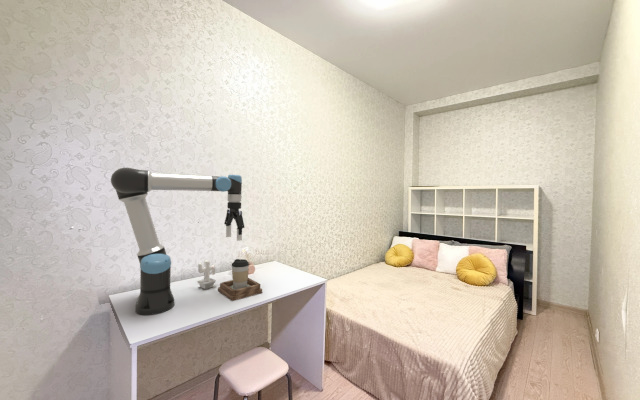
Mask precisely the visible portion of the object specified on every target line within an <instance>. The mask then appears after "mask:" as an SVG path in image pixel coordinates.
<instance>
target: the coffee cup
mask: <svg viewBox="0 0 640 400" xmlns="http://www.w3.org/2000/svg"><path fill="white" fill-rule="evenodd" d="M249 266H250V263H249V261H248V260H247V259H243V258H242V259H241V258H235V259H234V261H233V262H231V268H232V269H231V272H232V273H231V274H232V275H231V277H232V280H233V289H234V290H237V289H241V288H245V287H247V280H248V278H249V270H250V268H249Z"/></svg>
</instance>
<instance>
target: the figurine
mask: <svg viewBox="0 0 640 400" xmlns="http://www.w3.org/2000/svg"><path fill="white" fill-rule="evenodd" d="M210 263H211V261H210V260H209V259H205V260H204V261H203V263H202V262H199V263H198V265H197V267H198V268H197V269H198V270H197V271H198V273H199V274H202V273H203V279H200V280H199V279H198V280H196V282H197V283H198V285H199V286H200V288H202V289H203V290H206V289H210V288H213V287H214V285H215V283H216V282H217V279H213V278H211V277H210V272H211V275H212V276H213V275H215V274H216V267H215V265H213V264H212V265H210Z"/></svg>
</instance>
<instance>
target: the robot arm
mask: <svg viewBox="0 0 640 400" xmlns="http://www.w3.org/2000/svg"><path fill="white" fill-rule="evenodd" d="M242 180H243V179H242V175H239V174H228V175H227V176H222V175H221V176H216V175H215V176H214V175H212V176H211V175H197V174H196V175H195V174H180V173H179V174H177V173H176V174H175V173H159V172H151V171H150V170H145V169H137V168H132V167H121V168H118V169H116V170H115V171H114V172H113V173H112V175H111V176H110V184H111V186H112V187H113V189H114V190H115V192H116V195H117V198H118V201H120V202H123V204H124V206H125V210H126V213H127V216H128V219H129V221H130V225H131V228H132V231H133V234H134V237H135V240H136V244H137V247H138V252H137V253H136V256H137V259H138V261H139V269H140V275H139V276H140V278H139V279H140V282H139V283H140V284H139V285H140V286H139V287H140V290H139V291H140V292H139V295H138V298H137V301H136V304H135V305H134V306H135V307H134V308H135V309H134V310H135V313H136V314H138V315H142V316H149V315H151V316H152V315H157V314H161V313H165V312H166V311H169V310H171V309H173V308H174V306H175V297H174V295H173V292H172V289H171V272H172V271H171V270H172V269H171V268H172V266H171V265H172V261H171V257H170V255H168V254H167V251H166V249H165V246H164V245H163V244H160V241H159V238H158V234H157V232H156V228H155V224H154V222H153V218H152V215H151V212H150V209H149V205H148V203H147V199H146V198H147V196H148V193H150V192H151V191H187V192H189V191H191V192H192V191H197V192H221V193H223V192H227V210H226V215H225V218H224V219H225V220H224V223H223V224H224V225H225V226H226V228H225V234H226V235H225V238H230V237H232V223H233V220H234V222H235V224H236V241H237V242H238V241H239V242H240V241H242V240H243V229H245V223H244V218H243V210H240V209H242V198H243V197H242V196H243V195H242V187H243V186H242V185H243V181H242Z"/></svg>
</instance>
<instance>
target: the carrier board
mask: <svg viewBox="0 0 640 400" xmlns="http://www.w3.org/2000/svg"><path fill="white" fill-rule="evenodd" d="M217 292H219V293H220V294H221V295H223V296H224V297H225V298H227V299H229V300H230V301H231V302H234V301H238V300H241V299H245V298H249V297H252V296H257V295H258V294H263V288H261V283H259V282H258V281H255V280H254V279H251V278H250V277H248V280H247V287H245V288H241V289H237V290H234V289H233V279H231V280H227V281H223V282H220V283H219V286H218V287H217Z"/></svg>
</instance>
